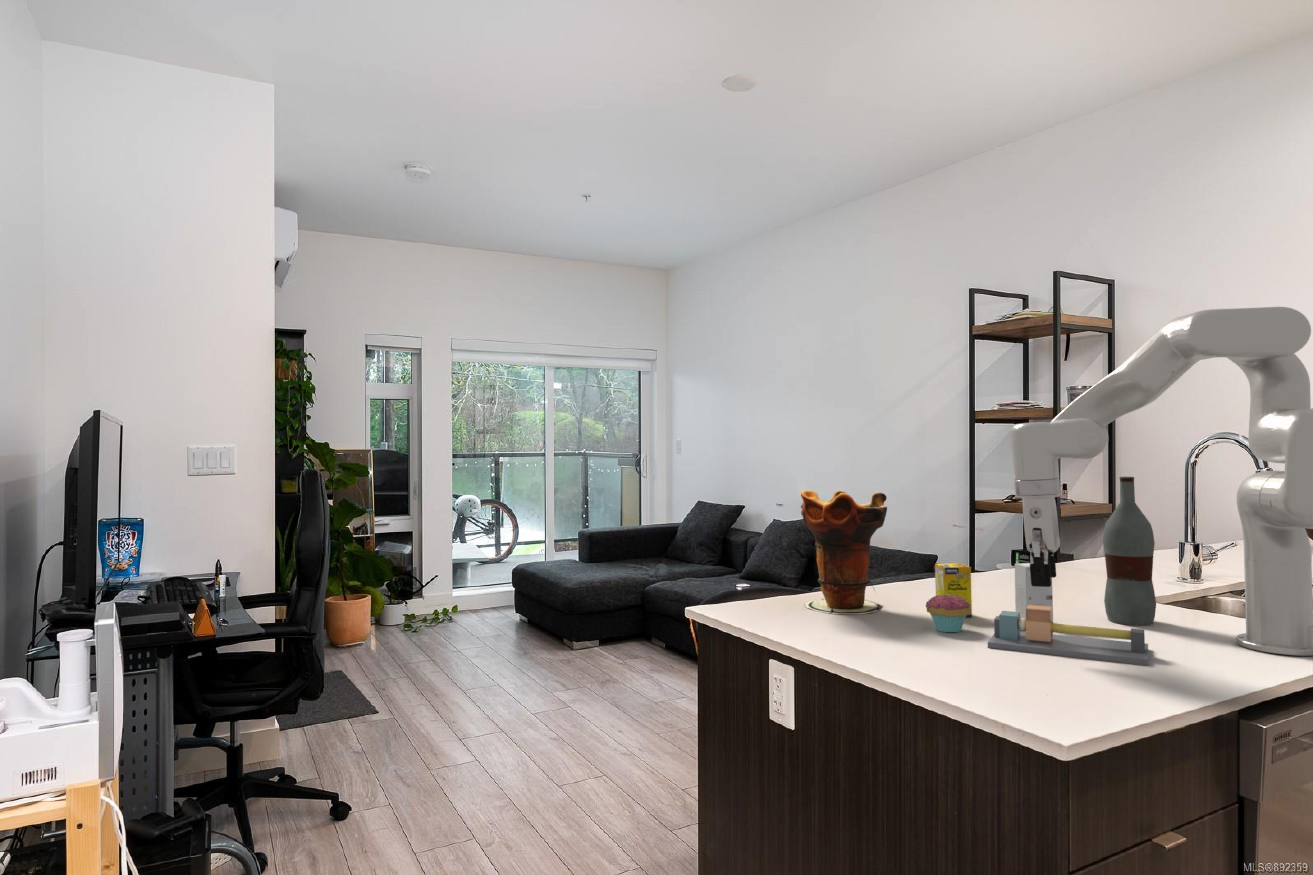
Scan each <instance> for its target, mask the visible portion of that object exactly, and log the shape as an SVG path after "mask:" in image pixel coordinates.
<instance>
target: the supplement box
mask: <svg viewBox="0 0 1313 875" xmlns="http://www.w3.org/2000/svg"><path fill="white" fill-rule="evenodd" d="M937 570H938V573H939V574H940V576H941V582H942V587H943V592H944V595H954V596H956V595H957V596H958V597H961V598H964V599H965V600H966V601H967V602H968V603H969V604H970V607H971V614H970V615H967V616H966V617H965V618H972V617H973V611H972V610H973V606H972V603H973V602H972V567H971V566H968V565H966V564H963V563H959V562H957V563H935V564H934V574H935V575H934V576H935V579H934V580H935V582H934V583H935V596H937V595H940V589H939V584H938V578H937V574H938V573H937Z"/></svg>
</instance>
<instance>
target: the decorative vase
mask: <svg viewBox="0 0 1313 875" xmlns="http://www.w3.org/2000/svg"><path fill="white" fill-rule="evenodd" d="M800 497H801V499H802V504H801V505H800V508H801V511H800V513H801V516H802V523H803V524H804V525H805V526H806V527H807V528H808V529H809V531H810V532H811V534H812V535H813V536H814V540H815V546H816V564H817V569H818V577H819V578H818V579H817V582H818V583H819V584H820V591H821V593H822V595H823V597H824V598H819V599H816V600H811V601H808V602H806V603H804V607H805V608H807V609H810V610H813V611H816V612H819V613H825V614H832V615H840V614H841V615H842V614H845V615H861V614H862V615H863V614H864V615H865V614H871V613H875V612H878V610H877V609H880V608H881V607H882V606H883V603H877V602H876V601H872V600H868V599H866V598H865V597H866V588H867V586H868V584H871V585H873V584H872V581H871V580H870V579H868V573H869V567H870V556H871V555H870V549H871V548H870V546H871V539H872V537H873V535H874V534H875V533H876V531H877V530H878V529H880V528H882V527H883V526H884V522H885V520H886V516H887V511H888V506H886V505H884V503H885V502H886V501H887V498H888V497H887V496H886V494H885V493H883V492H875V493H873V494H872V495H871V501H870V502H868V503H863V504H862V503H861V504H860V503H857V502H856V501H855V500H854V498H853V497H852V496H851V495H850V494H848V493H847V492H846V491H843V490H837V491H835V492H834V493H833V495H832V496H831V498H830V499H829V500H826V501H822V500H821V499H820V498H819V496H818V493H816V492H815V491H813V490H802V491H801V492H800ZM872 588H873V590H874V593H875V594H876V591H875V587H874V586H872ZM876 595H877V594H876Z"/></svg>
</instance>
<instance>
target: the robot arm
mask: <svg viewBox="0 0 1313 875" xmlns="http://www.w3.org/2000/svg"><path fill="white" fill-rule="evenodd" d="M1311 327H1312V326H1311V323H1310V321H1309V319H1308V318H1307V317H1306V315H1304V314H1303V313H1302V312H1301V311H1299V310H1297V309H1294V308H1292V307H1287V306H1268V307H1267V306H1266V307H1262V306H1261V307H1245V308H1243V307H1241V308H1215V309H1214V308H1211V309H1203V310H1198V311H1195V312H1192V313H1188V314H1185V315H1181V316H1178V317H1176V318H1173V319H1171V320H1169V321H1168V322H1167V323H1165V324H1163V325H1162V326H1161V327H1160V328H1159V329H1158V330H1157V331H1156V332H1155V333H1153V335H1152V336H1151V337H1150V338H1148V339H1147V340H1146V341H1145V342H1144V343H1143V344H1142V345H1141V346H1140V347H1138V349H1136V350H1135V351H1133V353H1132V354H1131V355H1130V356H1129V357H1128V358H1126V360H1124V362H1122V363H1121V364H1120V365H1118V367H1117V368H1115V369H1114V370H1113V371H1112V372H1110V373H1109V374H1108V375H1106V376H1105V377H1103V378H1102V379H1101V380H1099V381H1098V382H1097V383H1095V384H1094V385H1092V386H1091V387H1090V388H1089V389H1087V390H1086V391H1085V392H1083V393H1082V394H1081V395H1079V396H1077V398H1075V399H1074V400H1073V401H1072V402H1070V404H1069V405H1067V406H1066V407H1064V409H1063V410H1062V411H1061V412H1060V413H1059V414H1057V415H1056V416H1055V417H1054V418H1053V419H1052V420H1051V421H1050V422H1049V421H1037V422H1023V423H1017V424H1014V425H1013V426H1012V427H1011V430H1010V437H1011V438H1010V440H1011V451H1012V453H1011V454H1012V467H1013V479H1014V493H1015V498H1017V499H1021V500H1022V512H1023V514H1022V515H1023V526H1024V537H1025V546H1026V549H1027V551H1028V552H1030V553H1029V554H1030V556H1029V561H1030V562H1029V563H1031V564H1030V575H1031V585H1032V586H1036V587H1050V586H1051V577H1052V578H1056V577H1057V567H1056V556H1055V555H1054V554H1055V553H1056V552H1057V551H1058V550H1059V548H1060V547H1061V539H1060V531H1059V530H1060V529H1059V520H1058V510H1057V503H1056V499H1055V498H1058V497H1059V498H1060V497H1061V495H1062V494H1061V485H1060V484H1061V483H1060V471H1059V470H1060V469H1059V468H1060V467H1059V459H1064V460H1065V459H1066V460H1067V459H1068V460H1069V459H1071V460H1089V459H1092V458H1095V457H1097V456H1099V455H1100V454H1101V453H1103V452H1104V451H1105V449H1106V448H1107V446H1108V444H1109V433H1108V431H1107V429H1106V428H1105V427H1106V426H1107V425H1109V424H1111V423H1112V422H1113V421H1115V420H1117V419H1118V418H1120V417H1122V416H1125V415H1127V414H1129V413H1132V412H1135V411H1137V410H1140V409H1142V408H1144V407H1146V406H1148V405H1149V404H1151V403H1153V402H1154V401H1156V400H1157V399H1159V397H1161V395H1162V394H1164V393H1165V392H1166V391H1167V390H1168V389H1169V388H1170V387H1171V386H1173V385H1174V384H1175V383H1176V382H1177V381H1178V380H1179V379H1180V378H1181V377H1182V376H1183V375H1185V373H1186V372H1187V371H1188V370H1190V369H1191V368H1192V367H1193V366H1195V365H1196V364H1197V363H1198V362H1199V361H1202V360H1203V361H1204V360H1208V359H1215V358H1227V359H1228V360H1229V361H1231V362H1232V363H1234V364H1235V365H1236V366H1237V367H1239V369H1240V370H1241V371H1242V372H1243V373H1244V375H1245V376H1246V378H1247V381H1248V383H1249V392H1250V393H1249V396H1250V397H1249V398H1250V403H1249V419H1248V420H1249V421H1248V436H1247V438H1248V446H1249V449H1250V451H1251V453H1252V454H1253V456H1255V457H1256V459H1259V460H1261V461H1264V462H1267V463H1273V464H1284V470H1264V471H1259V472H1256V473H1253V474H1251V475H1249V476H1247V477H1246V478H1244V480H1242V482H1241V483H1240V485H1239V486H1238V489H1237V492H1236V506H1237V512H1238V515H1239V520H1240V524H1241V529H1242V535H1243V536H1242V538H1243V539H1242V540H1243V560H1244V561H1243V563H1244V565H1243V566H1244V568H1243V569H1244V596H1245V597H1244V601H1245V602H1244V603H1245V633H1239V634H1236V636H1235V642H1236V644H1237V645H1239V646H1241V647H1244V648H1246V649H1249V650H1253V651H1258V652H1263V653H1267V654H1268V653H1269V654H1278V655H1285V656H1302V657H1307V656H1308V657H1310V656H1311V657H1312V656H1313V574H1312V573H1313V572H1312V571H1313V568H1312V567H1313V566H1312V562H1313V560H1312V559H1313V557H1312V546H1311V542H1310V539H1309V536H1308V533H1307V530H1306V529H1308V530H1309V529H1311V530H1313V408H1311V381H1310V375H1309V373H1308V370H1307V368H1306V366H1305V364H1304V363H1303V362H1302V360H1301V359H1300V358H1299V357H1298V356H1297V355H1296V353H1298V352H1299V351H1301V350H1302V349H1303V348H1304V347H1305V346H1306V345H1307V344H1308V342H1309V340H1310V337H1311V335H1312V328H1311Z"/></svg>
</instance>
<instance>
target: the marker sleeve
mask: <svg viewBox="0 0 1313 875" xmlns="http://www.w3.org/2000/svg"><path fill="white" fill-rule="evenodd" d="M1051 623H1054V612H1053V613H1052V606H1043V605H1031V604H1029V605H1028V606H1027V607H1026V639H1027V640H1037V641H1047V642H1051V638H1053V634H1054V632H1051Z"/></svg>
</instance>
